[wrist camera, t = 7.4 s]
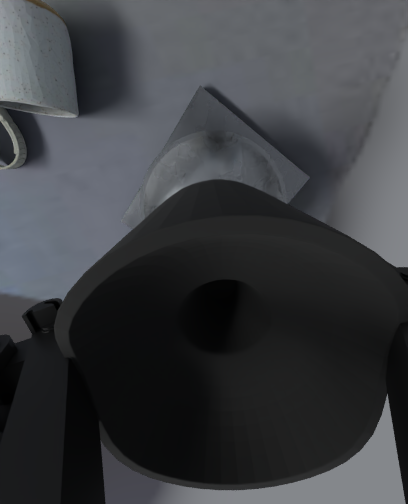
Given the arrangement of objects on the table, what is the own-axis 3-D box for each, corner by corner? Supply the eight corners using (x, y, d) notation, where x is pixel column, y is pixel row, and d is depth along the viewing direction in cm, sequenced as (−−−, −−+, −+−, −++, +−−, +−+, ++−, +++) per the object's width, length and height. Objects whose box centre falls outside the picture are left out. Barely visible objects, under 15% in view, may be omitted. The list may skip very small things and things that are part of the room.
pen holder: (322, 232, 15) (512, 367, 6) (228, 328, 18) (252, 517, 9) (200, 134, 13) (185, 91, 4) (117, 261, 16) (-7, 418, 7)
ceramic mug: (82, 27, 24) (29, -24, 17) (92, 119, 27) (50, 108, 20) (-23, 19, 24) (-120, -36, 17) (-1, 112, 27) (-75, 99, 20)
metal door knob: (200, 88, 26) (198, 67, 19) (306, 176, 29) (335, 184, 23) (123, 219, 32) (101, 237, 25) (219, 279, 35) (222, 309, 29)
